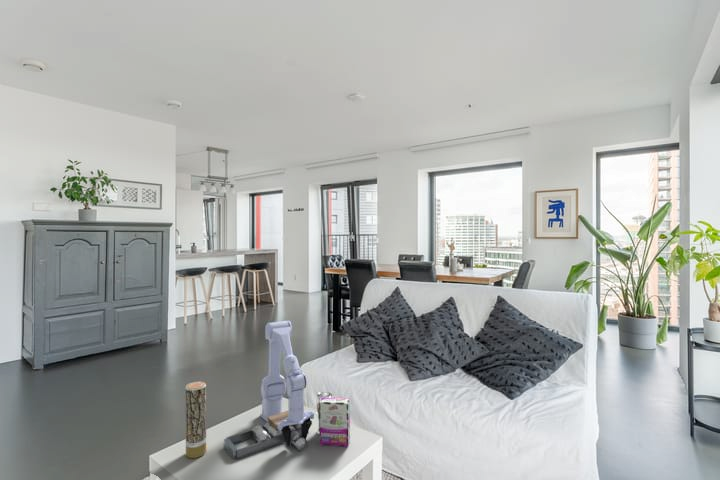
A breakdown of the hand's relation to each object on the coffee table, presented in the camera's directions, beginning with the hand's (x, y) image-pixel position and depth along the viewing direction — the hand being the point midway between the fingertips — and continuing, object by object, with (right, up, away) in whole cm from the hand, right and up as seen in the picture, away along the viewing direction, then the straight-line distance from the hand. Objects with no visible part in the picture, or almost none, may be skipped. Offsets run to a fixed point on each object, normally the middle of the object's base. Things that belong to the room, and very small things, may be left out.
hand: (296, 442), depth 140 cm
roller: (0, -1, 0) cm, 1 cm away
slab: (-6, +3, +10) cm, 12 cm away
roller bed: (-12, -1, +5) cm, 13 cm away
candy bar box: (+15, -2, +2) cm, 15 cm away
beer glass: (+10, -2, +10) cm, 14 cm away
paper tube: (-35, -2, -5) cm, 36 cm away
